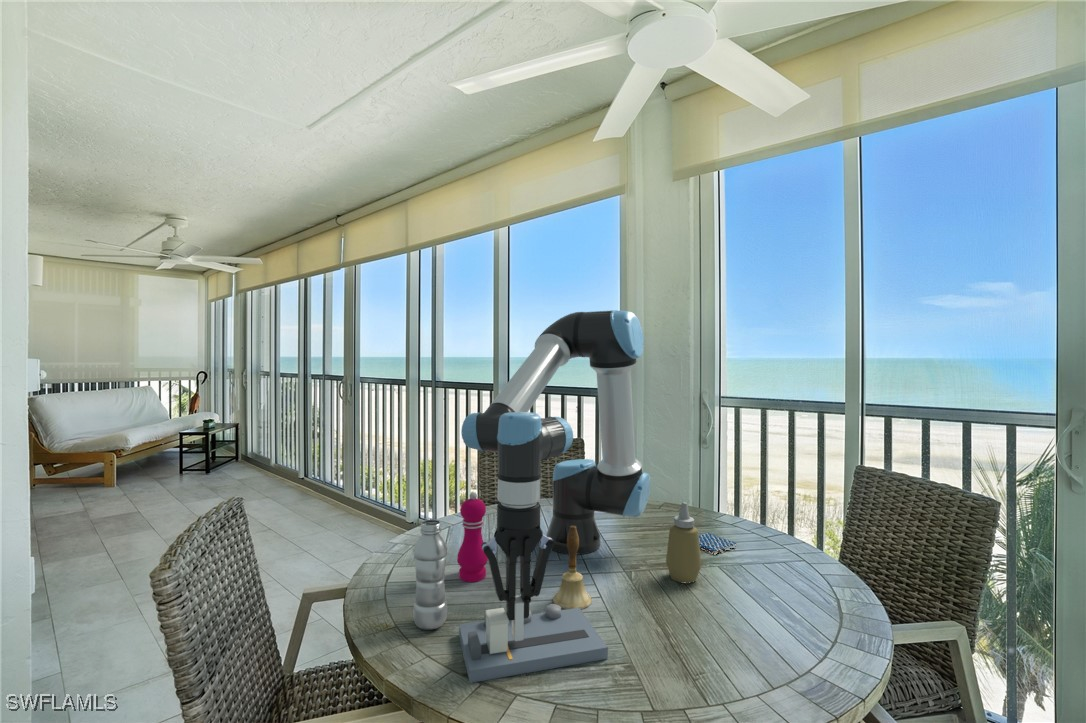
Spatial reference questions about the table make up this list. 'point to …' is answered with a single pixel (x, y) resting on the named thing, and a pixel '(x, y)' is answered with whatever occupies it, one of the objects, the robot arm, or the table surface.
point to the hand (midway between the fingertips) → (517, 636)
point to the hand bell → (572, 579)
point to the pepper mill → (472, 541)
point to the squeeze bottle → (683, 548)
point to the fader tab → (496, 630)
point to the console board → (533, 645)
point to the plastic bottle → (430, 577)
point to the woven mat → (714, 543)
